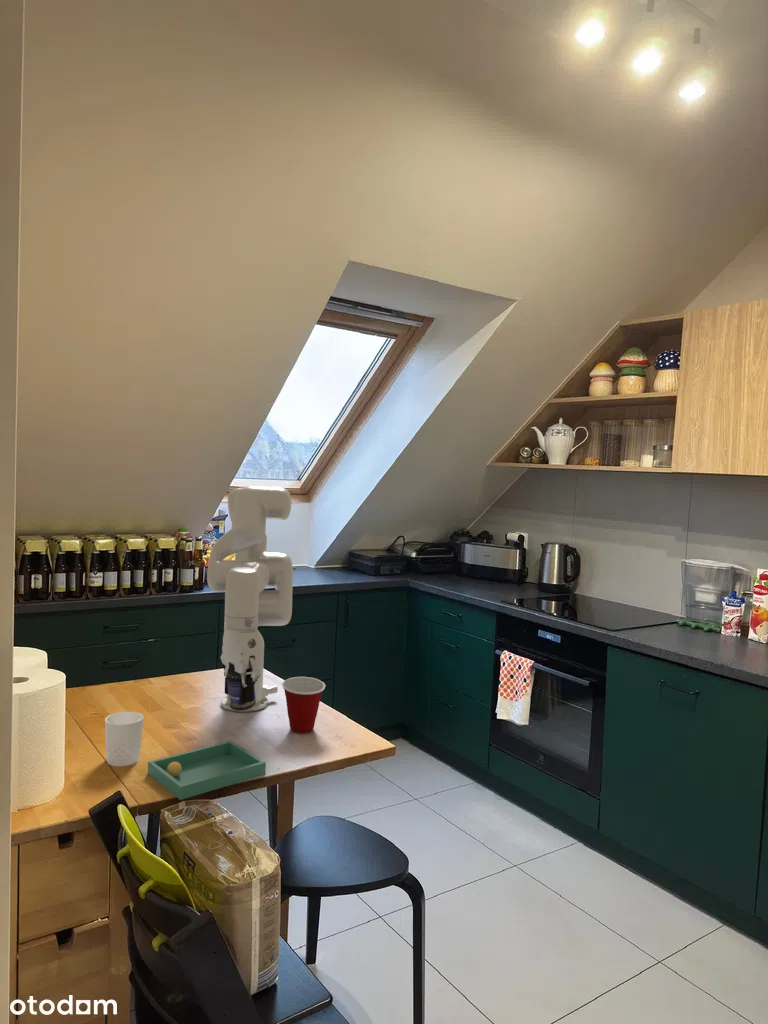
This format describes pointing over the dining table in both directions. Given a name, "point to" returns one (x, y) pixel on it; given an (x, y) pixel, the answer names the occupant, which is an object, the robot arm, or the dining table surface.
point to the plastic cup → (302, 702)
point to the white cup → (123, 738)
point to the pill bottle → (237, 690)
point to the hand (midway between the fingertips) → (238, 696)
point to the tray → (207, 769)
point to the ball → (174, 769)
